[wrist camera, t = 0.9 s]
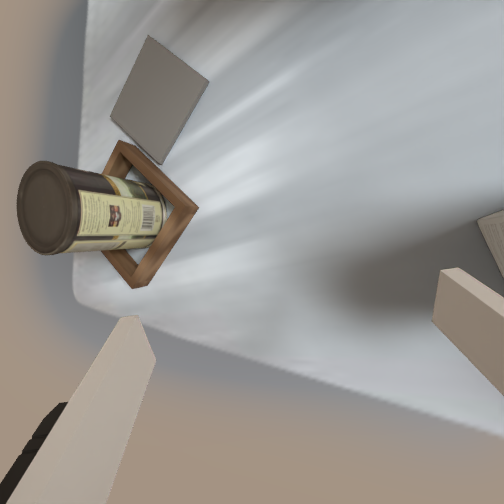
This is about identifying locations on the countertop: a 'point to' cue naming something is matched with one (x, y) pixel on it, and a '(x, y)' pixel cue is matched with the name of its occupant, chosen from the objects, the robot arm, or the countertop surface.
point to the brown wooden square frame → (172, 228)
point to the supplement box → (494, 236)
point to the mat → (158, 99)
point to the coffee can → (86, 210)
